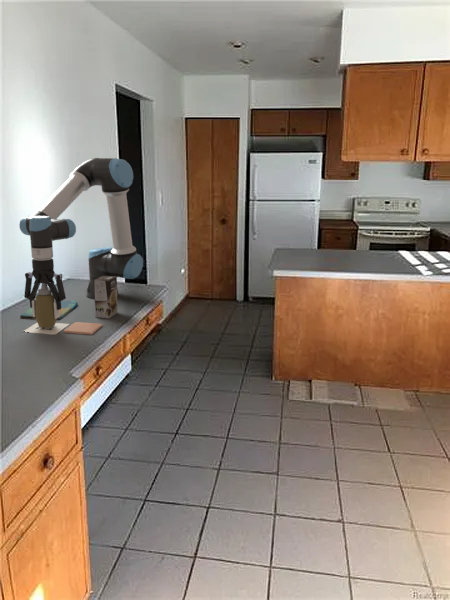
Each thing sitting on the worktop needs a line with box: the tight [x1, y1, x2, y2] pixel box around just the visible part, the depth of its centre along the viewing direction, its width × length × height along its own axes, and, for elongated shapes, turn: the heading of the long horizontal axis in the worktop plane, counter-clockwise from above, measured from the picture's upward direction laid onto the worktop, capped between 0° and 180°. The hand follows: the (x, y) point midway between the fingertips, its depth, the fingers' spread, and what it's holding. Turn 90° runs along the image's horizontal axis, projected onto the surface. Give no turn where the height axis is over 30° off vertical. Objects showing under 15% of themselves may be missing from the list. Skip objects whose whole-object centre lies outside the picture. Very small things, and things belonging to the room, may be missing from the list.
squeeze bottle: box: [35, 283, 57, 328], centre depth 192 cm, size 8×8×18 cm
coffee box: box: [94, 276, 118, 319], centre depth 211 cm, size 9×6×16 cm
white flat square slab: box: [23, 322, 70, 336], centre depth 194 cm, size 13×13×1 cm
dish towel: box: [19, 300, 79, 321], centre depth 216 cm, size 17×23×2 cm
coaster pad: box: [63, 321, 103, 335], centre depth 194 cm, size 11×11×1 cm
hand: (46, 316), depth 193 cm, fingers closed on squeeze bottle, 8 cm apart
